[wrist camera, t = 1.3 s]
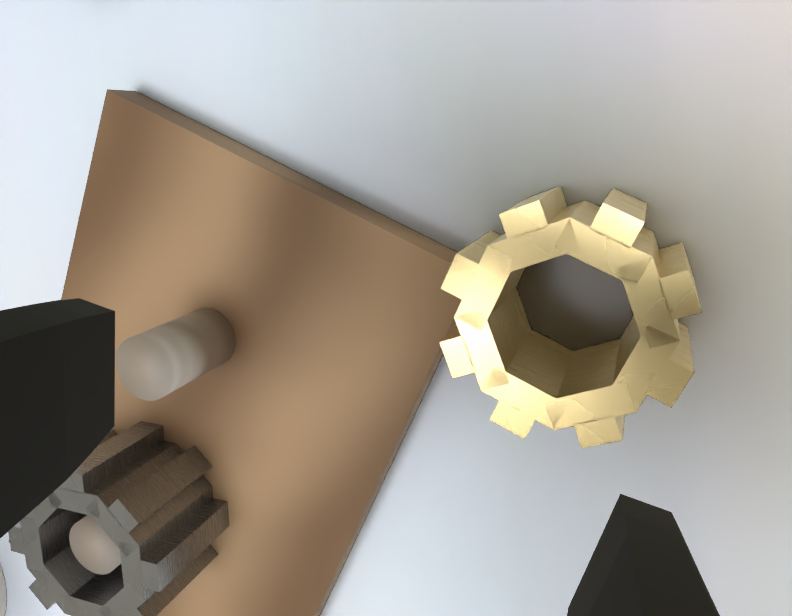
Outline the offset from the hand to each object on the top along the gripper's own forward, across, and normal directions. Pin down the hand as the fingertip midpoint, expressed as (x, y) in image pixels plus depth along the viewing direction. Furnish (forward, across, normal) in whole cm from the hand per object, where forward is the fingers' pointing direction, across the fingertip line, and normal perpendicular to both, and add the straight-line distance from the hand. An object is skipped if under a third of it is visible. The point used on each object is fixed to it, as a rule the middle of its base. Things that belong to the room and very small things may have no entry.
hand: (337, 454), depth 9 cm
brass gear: (+10, -3, +1) cm, 11 cm away
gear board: (+10, +7, +9) cm, 15 cm away
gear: (+8, +8, +12) cm, 16 cm away
